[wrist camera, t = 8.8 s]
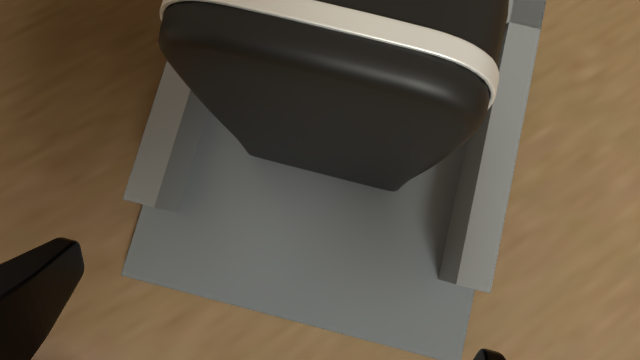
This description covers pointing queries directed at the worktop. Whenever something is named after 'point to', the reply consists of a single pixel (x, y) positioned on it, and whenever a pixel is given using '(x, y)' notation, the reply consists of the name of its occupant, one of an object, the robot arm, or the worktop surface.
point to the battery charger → (341, 78)
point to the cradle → (330, 220)
